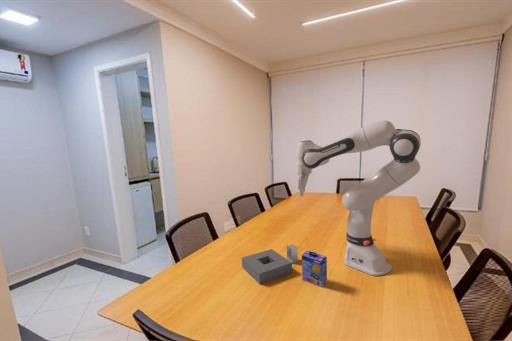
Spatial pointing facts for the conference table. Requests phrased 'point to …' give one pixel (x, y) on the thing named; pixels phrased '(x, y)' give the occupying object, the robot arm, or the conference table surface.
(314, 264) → the ink cartridge box
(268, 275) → the socket block
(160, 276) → the conference table surface
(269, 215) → the conference table surface
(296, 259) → the peg
